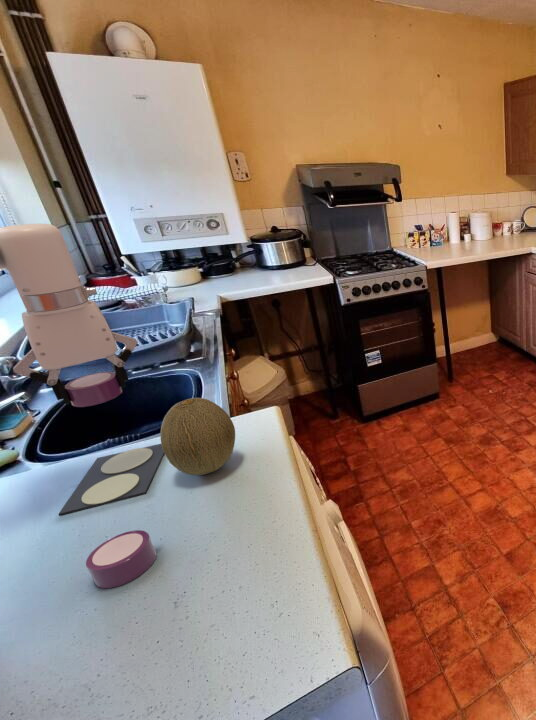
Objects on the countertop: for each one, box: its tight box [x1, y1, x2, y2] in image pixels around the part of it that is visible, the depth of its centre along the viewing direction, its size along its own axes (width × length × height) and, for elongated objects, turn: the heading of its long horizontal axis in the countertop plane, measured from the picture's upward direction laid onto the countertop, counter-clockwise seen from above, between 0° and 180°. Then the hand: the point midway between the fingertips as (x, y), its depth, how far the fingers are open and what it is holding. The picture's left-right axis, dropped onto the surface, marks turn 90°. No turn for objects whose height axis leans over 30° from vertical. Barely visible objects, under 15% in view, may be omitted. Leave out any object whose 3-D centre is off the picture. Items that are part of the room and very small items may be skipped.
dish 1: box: [64, 371, 123, 408], centre depth 79 cm, size 7×7×4 cm
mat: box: [57, 443, 165, 516], centre depth 83 cm, size 12×17×1 cm
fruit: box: [160, 397, 236, 476], centre depth 82 cm, size 11×11×15 cm
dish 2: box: [85, 529, 157, 589], centre depth 63 cm, size 7×7×4 cm
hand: (95, 392), depth 80 cm, fingers closed on dish 1, 7 cm apart
